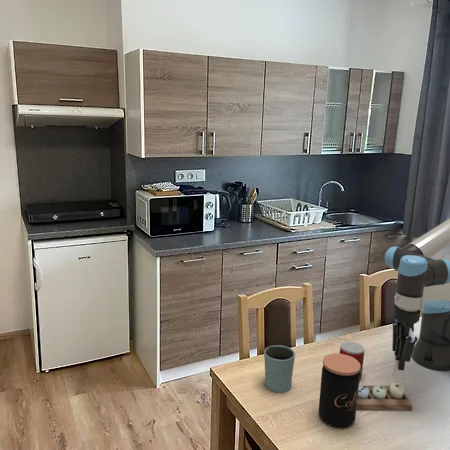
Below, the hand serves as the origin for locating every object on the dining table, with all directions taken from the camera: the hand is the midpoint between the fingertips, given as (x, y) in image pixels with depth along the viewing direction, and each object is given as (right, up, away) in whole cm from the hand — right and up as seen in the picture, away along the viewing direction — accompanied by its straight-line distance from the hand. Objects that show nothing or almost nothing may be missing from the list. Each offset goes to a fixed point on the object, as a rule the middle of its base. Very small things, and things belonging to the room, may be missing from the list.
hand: (397, 376), depth 138 cm
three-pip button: (-11, -7, +2) cm, 13 cm away
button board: (-5, -8, +2) cm, 10 cm away
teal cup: (-37, -6, +9) cm, 38 cm away
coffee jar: (-21, -10, -7) cm, 24 cm away
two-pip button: (-5, -7, +2) cm, 9 cm away
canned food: (-11, -5, +15) cm, 19 cm away
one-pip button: (0, -6, +2) cm, 6 cm away
